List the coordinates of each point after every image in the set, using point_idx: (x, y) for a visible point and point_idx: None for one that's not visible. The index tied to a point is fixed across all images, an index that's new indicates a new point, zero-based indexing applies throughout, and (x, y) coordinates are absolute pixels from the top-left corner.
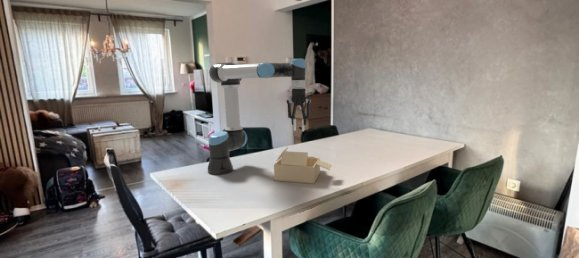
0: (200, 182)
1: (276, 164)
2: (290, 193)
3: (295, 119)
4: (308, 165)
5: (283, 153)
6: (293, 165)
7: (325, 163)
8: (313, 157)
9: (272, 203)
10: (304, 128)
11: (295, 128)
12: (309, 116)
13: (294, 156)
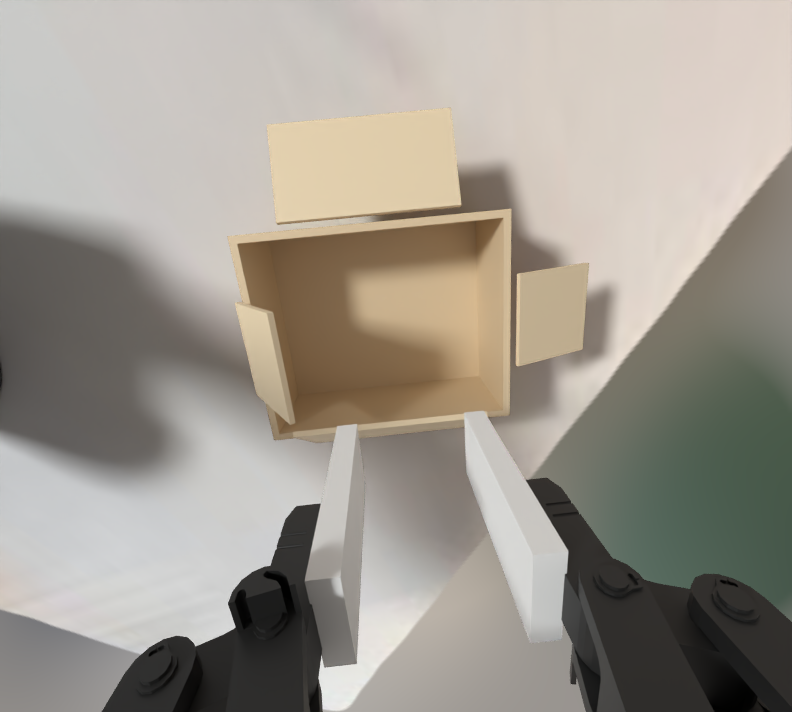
0: (4, 517)
1: (277, 413)
2: (420, 492)
3: (348, 598)
4: (419, 226)
5: (306, 438)
6: (318, 236)
7: (557, 286)
8: (460, 204)
9: (394, 573)
10: (492, 429)
11: (359, 471)
12: (770, 621)
13: (392, 430)
